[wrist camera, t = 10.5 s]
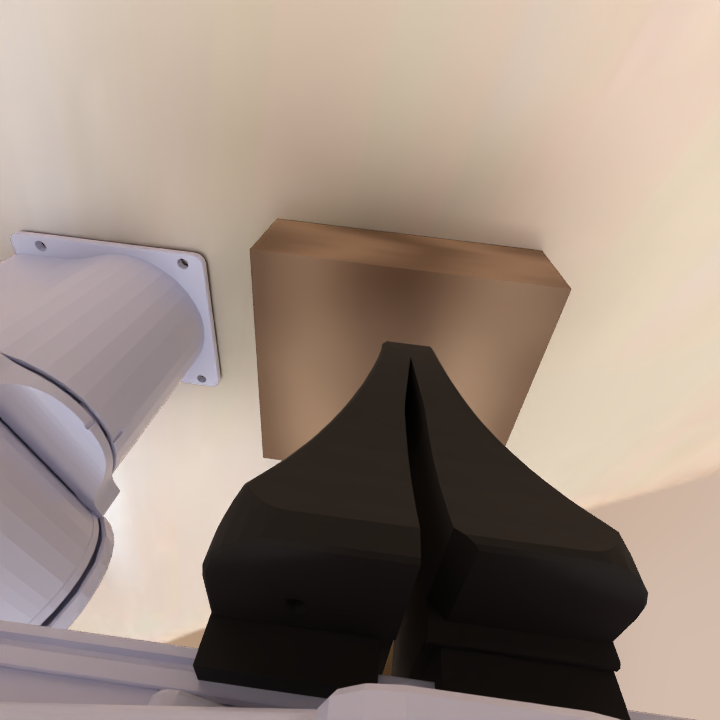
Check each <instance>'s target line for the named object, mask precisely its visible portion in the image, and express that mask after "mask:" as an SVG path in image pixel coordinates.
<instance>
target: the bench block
mask: <svg viewBox="0 0 720 720" xmlns="http://www.w3.org/2000/svg"><path fill="white" fill-rule="evenodd" d="M250 259H251V275H252V290H253V306H254V322H255V337H256V353H257V368H258V384H259V399H260V415H261V431H262V446H263V458H269V459H277V460H284V459H286V458H287V457H288V456H290V455H291V454H292V453H294V452H295V451H296V450H298V449H299V448H300V447H302V446H303V445H304V444H306V443H307V442H308V441H310V440H311V439H312V438H313V437H314V436H315V435H317V434H318V433H319V432H320V431H321V430H322V429H323V428H324V427H325V426H326V425H327V424H328V423H330V422H331V421H332V420H333V419H334V418H335V417H336V415H337V414H338V413H339V412H340V411H341V410H342V409H343V408H344V407H345V406H346V404H347V403H348V402H349V401H350V400H351V398H352V397H353V396H354V395H355V393H356V392H357V391H358V389H359V388H360V387H361V385H362V384H363V382H364V381H365V379H366V378H367V376H368V375H369V373H370V371H371V370H372V368H373V366H374V364H375V363H376V361H377V359H378V356H379V354H380V351H381V348H382V344H383V343H385V342H386V341H390V342H398V343H406V344H414V345H422V346H430V347H431V348H432V349H433V351H434V352H435V354H436V356H437V358H438V360H439V361H440V363H441V365H442V367H443V368H444V370H445V371H446V373H447V375H448V376H449V378H450V380H451V381H452V383H453V384H454V386H455V387H456V389H457V390H458V391H459V393H460V394H461V396H462V397H463V399H464V400H465V401H466V403H467V404H468V405H469V407H470V408H471V409H472V411H473V412H474V413H475V414H476V416H477V417H478V418H479V419H480V420H481V422H482V423H483V424H484V425H485V426H486V427H487V428H488V429H489V430H490V431H491V432H492V434H493V435H494V436H495V437H496V438H497V439H498V440H499V441H500V442H501V443H502V444H503V445H504V446H505V445H506V443H507V441H508V438H509V436H510V434H511V431H512V429H513V426H514V424H515V422H516V419H517V417H518V415H519V412H520V410H521V407H522V405H523V403H524V400H525V398H526V396H527V393H528V391H529V388H530V386H531V384H532V381H533V379H534V377H535V374H536V372H537V369H538V367H539V365H540V362H541V360H542V358H543V355H544V353H545V351H546V348H547V346H548V343H549V341H550V339H551V336H552V334H553V332H554V329H555V327H556V324H557V322H558V320H559V317H560V315H561V313H562V310H563V308H564V305H565V303H566V301H567V298H568V296H569V294H570V291H571V288H570V287H569V285H568V284H567V283H566V281H565V280H564V279H563V277H562V276H561V275H560V273H559V272H558V271H557V270H556V268H555V267H554V266H553V264H552V263H551V262H550V260H549V259H548V258H547V256H546V255H545V254H544V253H543V251H539V250H531V249H523V248H514V247H506V246H498V245H490V244H481V243H473V242H465V241H456V240H448V239H440V238H432V237H423V236H415V235H407V234H399V233H390V232H382V231H374V230H366V229H357V228H349V227H341V226H332V225H324V224H316V223H308V222H299V221H291V220H283V219H277V220H276V221H275V222H274V223H273V224H272V225H271V226H270V228H269V229H268V230H267V231H266V232H265V233H264V234H263V235H262V236H261V238H260V239H259V240H258V241H257V242H256V243H255V244H254V245H253V247H252V248H251V249H250Z"/></svg>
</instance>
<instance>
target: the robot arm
mask: <svg viewBox="0 0 720 720" xmlns="http://www.w3.org/2000/svg"><path fill="white" fill-rule="evenodd" d="M10 239H11V243H12V245H13V248H14V250H15V253H16V254H15V255H13V256H11V257H9V258H7V259H5V260H2V261H0V720H694V719H687V718H680V717H673V716H666V715H660V714H653V713H646V712H638V711H631V710H627V708H626V705H625V702H624V699H623V697H622V693H621V691H620V688H619V685H618V682H617V679H616V676H615V673H614V671H616V672H617V671H618V670H619V669H620V660H619V657H618V654H617V652H616V649H615V646H614V643H613V641H614V640H615V639H616V638H617V637H618V636H619V635H620V634H621V633H622V632H623V631H624V630H625V629H626V628H627V627H628V626H629V625H630V624H631V623H632V622H634V621H635V620H636V619H637V617H638V616H639V615H640V613H641V612H642V611H643V609H644V608H645V606H646V604H647V597H648V592H647V590H646V588H645V586H644V584H643V581H642V579H641V577H640V574H639V572H638V570H637V567H636V565H635V563H634V561H633V558H632V556H631V554H630V552H629V550H628V549H627V547H626V545H625V543H624V541H623V539H622V538H621V536H620V534H619V532H617V531H616V530H615V529H613V528H612V527H610V526H609V525H607V524H606V523H604V522H603V521H601V520H600V519H598V518H596V517H595V516H593V515H592V514H590V513H589V512H587V511H586V510H584V509H583V508H581V507H580V506H578V505H577V504H575V503H574V502H572V501H571V500H569V499H568V498H567V497H565V496H564V495H563V494H561V493H560V492H559V491H557V490H556V489H555V488H553V487H552V486H551V485H549V484H548V483H547V482H545V481H544V480H543V479H542V478H541V477H539V476H538V475H537V474H536V473H534V472H533V471H532V470H531V469H529V468H528V467H527V466H526V465H525V464H524V463H523V462H522V461H520V460H519V459H518V458H517V457H516V456H515V455H514V454H513V453H511V452H510V451H509V450H508V449H507V448H506V447H505V446H504V445H503V444H502V443H501V442H500V441H499V440H498V439H497V438H496V437H495V436H494V435H493V434H492V432H491V431H490V430H489V429H488V428H487V427H486V426H485V425H484V424H483V423H482V422H481V420H480V419H479V418H478V417H477V416H476V414H475V413H474V412H473V411H472V409H471V408H470V407H469V405H468V404H467V403H466V401H465V400H464V399H463V397H462V396H461V394H460V393H459V391H458V390H457V389H456V387H455V386H454V384H453V383H452V381H451V380H450V378H449V376H448V375H447V373H446V371H445V370H444V368H443V367H442V365H441V363H440V361H439V360H438V358H437V356H436V354H435V352H434V351H433V349H432V348H431V347H430V346H422V345H414V344H406V343H398V342H390V341H386V342H385V343H383V344H382V348H381V351H380V354H379V356H378V359H377V361H376V363H375V364H374V366H373V368H372V370H371V371H370V373H369V375H368V376H367V378H366V379H365V381H364V382H363V384H362V385H361V387H360V388H359V389H358V391H357V392H356V393H355V395H354V396H353V397H352V398H351V400H350V401H349V402H348V403H347V404H346V406H345V407H344V408H343V409H342V410H341V411H340V412H339V413H338V414H337V415H336V417H335V418H334V419H333V420H332V421H331V422H330V423H328V424H327V425H326V426H325V427H324V428H323V429H322V430H321V431H320V432H319V433H318V434H317V435H315V436H314V437H313V438H312V439H311V440H310V441H308V442H307V443H306V444H304V445H303V446H302V447H300V448H299V449H298V450H296V451H295V452H294V453H292V454H291V455H290V456H288V457H287V458H286V459H284V460H283V461H281V462H280V463H278V464H277V465H275V466H274V467H272V468H270V469H269V470H267V471H265V472H264V473H262V474H261V475H259V476H257V477H256V478H254V479H252V480H251V481H249V482H247V483H245V485H244V486H243V487H242V489H241V490H240V492H239V493H238V495H237V496H236V498H235V499H234V500H233V502H232V504H231V505H230V507H229V509H228V510H227V512H226V514H225V515H224V517H223V519H222V521H221V523H220V524H219V526H218V528H217V530H216V533H215V535H214V537H213V540H212V542H211V545H210V547H209V550H208V552H207V555H206V557H205V559H204V562H203V574H202V575H203V579H204V583H205V587H206V592H207V596H208V600H209V604H210V608H211V612H212V613H211V615H210V618H209V621H208V624H207V626H206V629H205V632H204V635H203V638H202V641H201V643H200V646H199V648H192V647H185V646H178V645H171V644H164V643H157V642H150V641H143V640H136V639H129V638H122V637H116V636H109V635H102V634H95V633H88V632H81V631H74V630H67V629H68V628H69V627H70V626H71V624H72V623H73V622H74V621H75V620H76V619H77V617H78V616H79V615H80V613H81V612H82V611H83V609H84V608H85V607H86V605H87V604H88V602H89V601H90V599H91V598H92V596H93V594H94V593H95V591H96V590H97V588H98V586H99V585H100V583H101V581H102V579H103V577H104V575H105V573H106V571H107V568H108V565H109V562H110V559H111V557H112V552H113V547H114V534H113V531H112V527H111V525H110V523H109V522H108V521H107V519H106V518H105V517H103V515H104V514H105V513H106V511H107V510H108V508H109V507H110V505H111V504H112V502H113V501H114V499H115V498H116V497H117V495H118V494H119V492H120V490H119V488H118V487H117V486H116V484H115V483H114V481H113V478H112V474H113V472H114V471H115V470H116V468H117V467H118V466H119V464H120V463H121V462H122V460H123V459H124V457H125V456H126V455H127V453H128V452H129V451H130V449H131V448H132V447H133V445H134V444H135V442H136V441H137V440H138V438H139V437H140V436H141V434H142V433H143V432H144V430H145V429H146V428H147V426H148V425H149V423H150V422H151V421H152V419H153V418H154V417H155V415H156V414H157V413H158V411H159V410H160V409H161V407H162V406H163V404H164V403H165V402H166V400H167V399H168V398H169V396H170V395H171V394H172V392H173V391H174V389H175V388H176V387H177V385H178V384H179V383H180V382H183V383H191V384H198V385H206V386H216V385H218V383H219V382H220V380H221V375H220V367H219V359H218V352H217V344H216V336H215V329H214V321H213V313H212V306H211V298H210V290H209V282H208V275H207V267H206V262H205V259H204V258H203V257H202V256H201V255H200V254H198V253H194V252H186V251H178V250H170V249H162V248H154V247H146V246H138V245H130V244H122V243H113V242H105V241H97V240H89V239H81V238H73V237H65V236H57V235H49V234H41V233H32V232H24V231H19V232H16V233H14V234H12V235H11V238H10ZM41 242H42V243H44V244H45V246H46V248H45V247H44V246H43V245H42V243H41ZM181 259H184V260H186V261H187V263H188V266H186V265H184V264H183V263H182V262H181ZM200 375H202V376H204V377H205V378H202V377H201V376H200ZM393 640H394V645H393V646H394V647H393V660H392V675H391V676H388V675H382V673H383V670H384V667H385V664H386V661H387V658H388V654H389V651H390V648H391V645H392V642H393Z"/></svg>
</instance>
